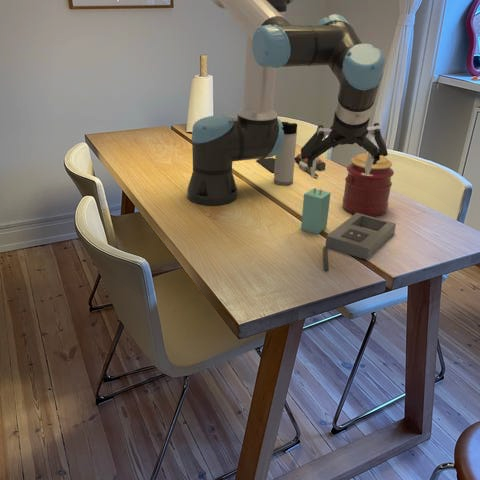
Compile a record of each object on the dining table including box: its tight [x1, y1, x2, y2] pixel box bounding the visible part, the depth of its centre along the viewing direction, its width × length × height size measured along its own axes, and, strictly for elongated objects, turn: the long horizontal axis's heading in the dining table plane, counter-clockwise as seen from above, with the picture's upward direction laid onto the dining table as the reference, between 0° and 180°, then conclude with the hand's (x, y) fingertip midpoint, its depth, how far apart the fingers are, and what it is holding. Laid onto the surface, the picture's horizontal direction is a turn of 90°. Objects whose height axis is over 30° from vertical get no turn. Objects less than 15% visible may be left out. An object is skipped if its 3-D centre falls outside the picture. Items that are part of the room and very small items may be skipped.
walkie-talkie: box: [295, 153, 326, 178], centre depth 174 cm, size 9×4×20 cm
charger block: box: [300, 187, 331, 235], centre depth 128 cm, size 5×5×11 cm
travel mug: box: [273, 121, 298, 186], centre depth 157 cm, size 6×7×20 cm
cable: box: [322, 245, 329, 272], centre depth 115 cm, size 11×1×1 cm, turn 172°
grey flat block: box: [324, 213, 397, 260], centre depth 124 cm, size 18×11×3 cm, turn 144°
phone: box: [255, 157, 275, 174], centre depth 176 cm, size 7×1×15 cm
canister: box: [342, 152, 395, 217], centre depth 140 cm, size 13×13×18 cm
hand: (339, 171), depth 123 cm, fingers open, 13 cm apart
